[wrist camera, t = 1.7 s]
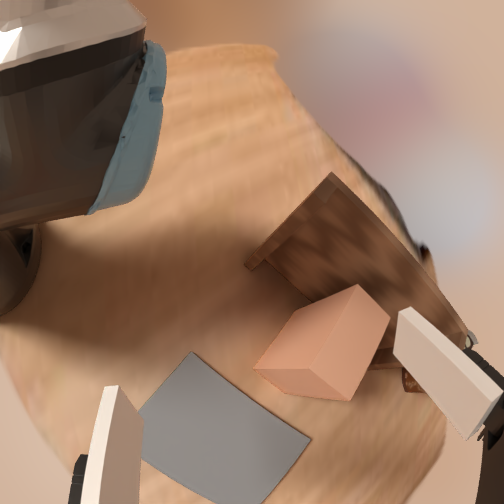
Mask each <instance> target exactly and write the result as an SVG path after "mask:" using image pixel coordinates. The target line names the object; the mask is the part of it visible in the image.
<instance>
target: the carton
mask: <svg viewBox="0 0 504 504" xmlns="http://www.w3.org/2000/svg"><path fill="white" fill-rule="evenodd" d="M390 318H391V317H390V316H389V315H388V314H387V313H386V312H385V311H384V310H383V309H382V308H381V307H380V306H379V305H378V304H377V303H376V302H375V301H374V300H373V299H372V298H371V297H370V296H369V295H368V294H367V293H366V292H365V291H364V290H363V289H362V288H361V287H360V286H359V285H358V284H356V285H354V286H352V287H350V288H347V289H345V290H343V291H341V292H338V293H336V294H334V295H331V296H329V297H327V298H324V299H322V300H320V301H317V302H315V303H312V304H310V305H308V306H305V307H303V308H300V309H298V310H295V311H294V313H293V314H292V316H291V317H290V318H289V320H288V321H287V323H286V324H285V325H284V327H283V328H282V330H281V331H280V332H279V334H278V335H277V337H276V338H275V339H274V341H273V342H272V343H271V345H270V346H269V348H268V349H267V350H266V352H265V353H264V354H263V356H262V357H261V358H260V360H259V361H258V362H257V364H256V365H255V366H254V367H253V369H254V370H255V371H256V372H257V373H259V374H260V375H261V376H262V377H264V378H265V379H266V380H268V381H269V382H270V383H271V384H273V385H274V386H275V387H277V388H278V389H279V390H281V391H282V392H283V393H286V394H292V395H299V396H307V397H315V398H323V399H333V400H344V401H350V400H351V398H352V396H353V395H354V393H355V391H356V389H357V387H358V386H359V384H360V382H361V380H362V378H363V376H364V374H365V372H366V370H367V368H368V366H369V364H370V362H371V360H372V358H373V356H374V354H375V352H376V350H377V348H378V345H379V343H380V341H381V339H382V337H383V334H384V332H385V330H386V328H387V325H388V323H389V320H390Z"/></svg>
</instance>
